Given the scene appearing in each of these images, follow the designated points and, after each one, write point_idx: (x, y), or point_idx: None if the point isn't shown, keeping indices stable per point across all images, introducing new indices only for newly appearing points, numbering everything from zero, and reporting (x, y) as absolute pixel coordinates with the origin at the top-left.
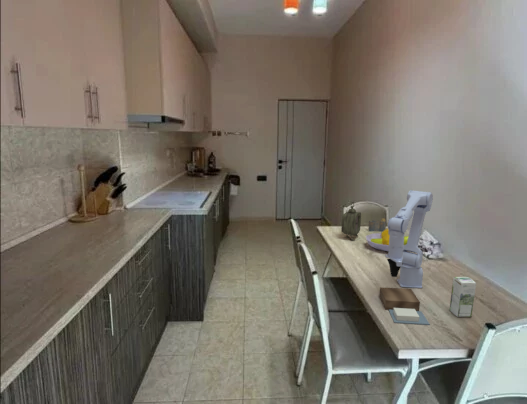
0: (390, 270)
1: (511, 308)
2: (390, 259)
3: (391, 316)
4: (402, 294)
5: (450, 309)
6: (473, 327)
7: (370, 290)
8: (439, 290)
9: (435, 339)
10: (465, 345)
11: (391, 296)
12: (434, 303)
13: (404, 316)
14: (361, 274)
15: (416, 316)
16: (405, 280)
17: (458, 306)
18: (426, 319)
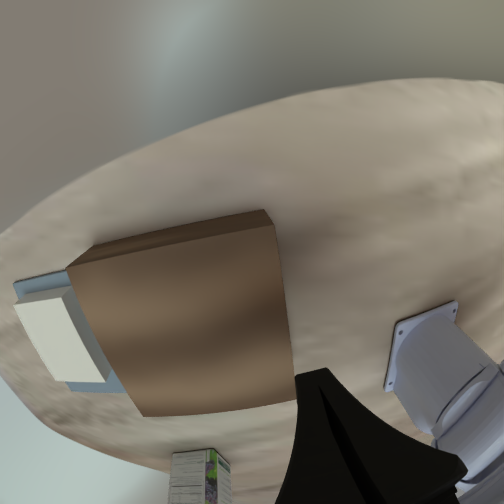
0: (338, 406)
1: (275, 499)
2: (433, 497)
3: (47, 274)
4: (197, 366)
5: (207, 453)
6: (136, 460)
7: (336, 154)
8: None
9: (18, 377)
10: (43, 421)
11: (135, 305)
12: (253, 425)
13: (28, 331)
14: (493, 137)
15: (51, 372)
16: (416, 355)
17: (170, 482)
18: (94, 391)
